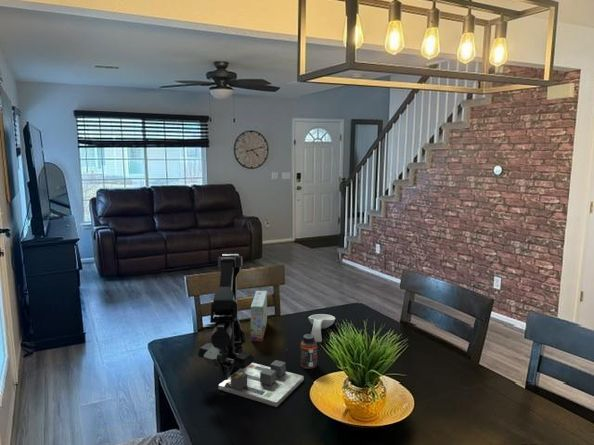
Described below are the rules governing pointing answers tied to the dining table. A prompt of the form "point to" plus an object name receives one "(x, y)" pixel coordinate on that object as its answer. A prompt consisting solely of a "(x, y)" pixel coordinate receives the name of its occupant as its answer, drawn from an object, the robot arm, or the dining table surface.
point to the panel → (263, 385)
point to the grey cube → (239, 380)
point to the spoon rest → (320, 324)
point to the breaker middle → (268, 376)
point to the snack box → (258, 315)
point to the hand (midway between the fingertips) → (226, 379)
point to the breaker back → (278, 367)
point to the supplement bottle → (308, 352)
